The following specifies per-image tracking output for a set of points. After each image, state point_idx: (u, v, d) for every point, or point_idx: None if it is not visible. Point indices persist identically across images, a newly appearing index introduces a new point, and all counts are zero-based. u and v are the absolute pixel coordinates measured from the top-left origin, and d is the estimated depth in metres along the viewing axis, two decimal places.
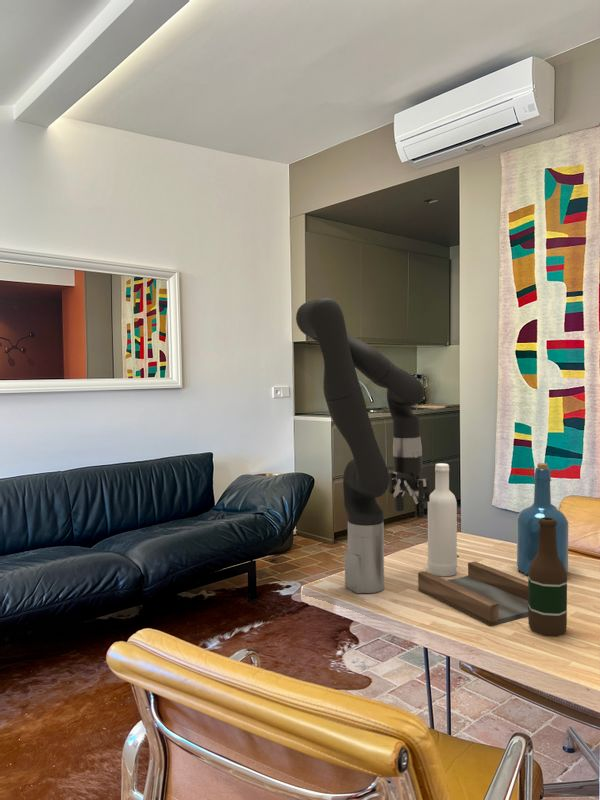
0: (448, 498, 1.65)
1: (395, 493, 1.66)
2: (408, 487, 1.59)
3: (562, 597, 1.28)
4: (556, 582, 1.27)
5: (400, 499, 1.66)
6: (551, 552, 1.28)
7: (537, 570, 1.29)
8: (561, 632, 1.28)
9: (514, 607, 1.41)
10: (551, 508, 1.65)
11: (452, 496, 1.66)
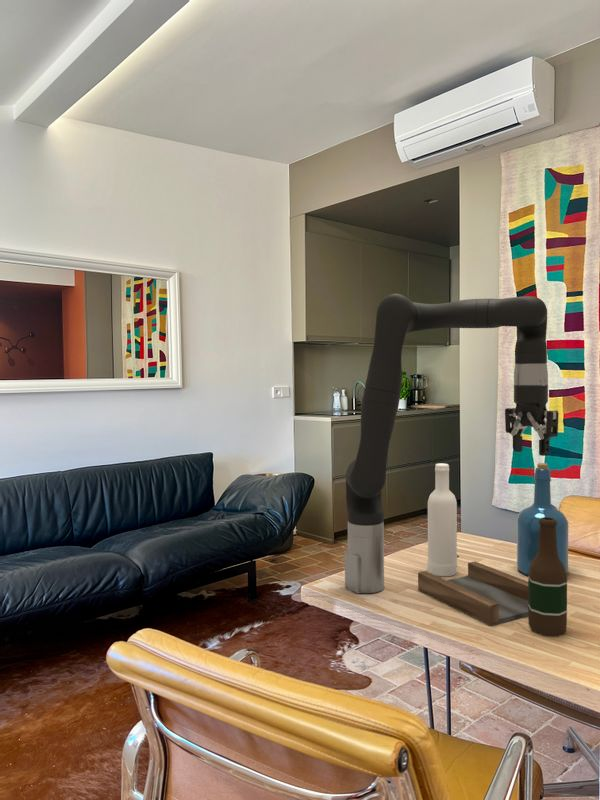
0: (448, 498, 1.65)
1: (514, 431, 1.46)
2: (532, 420, 1.41)
3: (562, 597, 1.28)
4: (556, 582, 1.27)
5: (519, 438, 1.47)
6: (551, 552, 1.28)
7: (537, 570, 1.29)
8: (561, 632, 1.28)
9: (514, 607, 1.41)
10: (551, 508, 1.65)
11: (452, 496, 1.66)
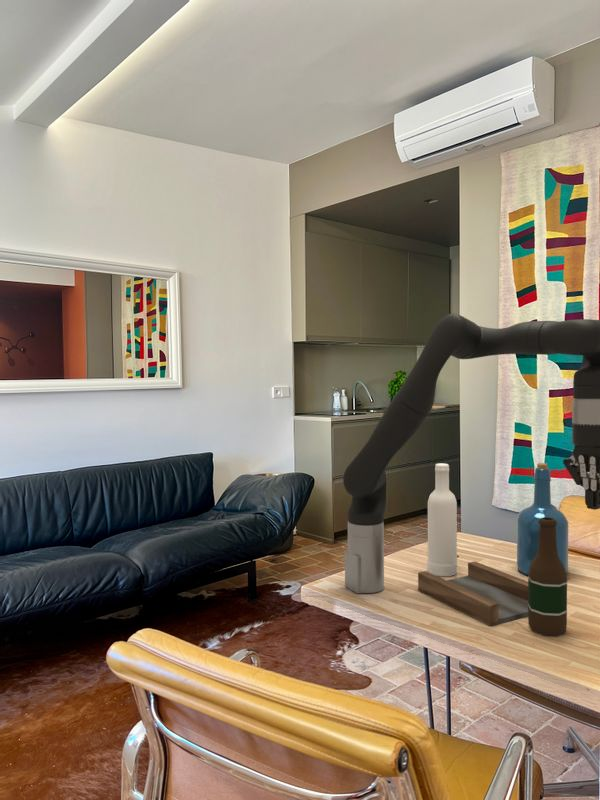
0: (448, 498, 1.65)
1: (587, 484, 1.21)
2: (593, 467, 1.19)
3: (562, 597, 1.28)
4: (556, 582, 1.27)
5: None
6: (551, 552, 1.28)
7: (537, 570, 1.29)
8: (561, 632, 1.28)
9: (514, 607, 1.41)
10: (551, 508, 1.65)
11: (452, 496, 1.66)
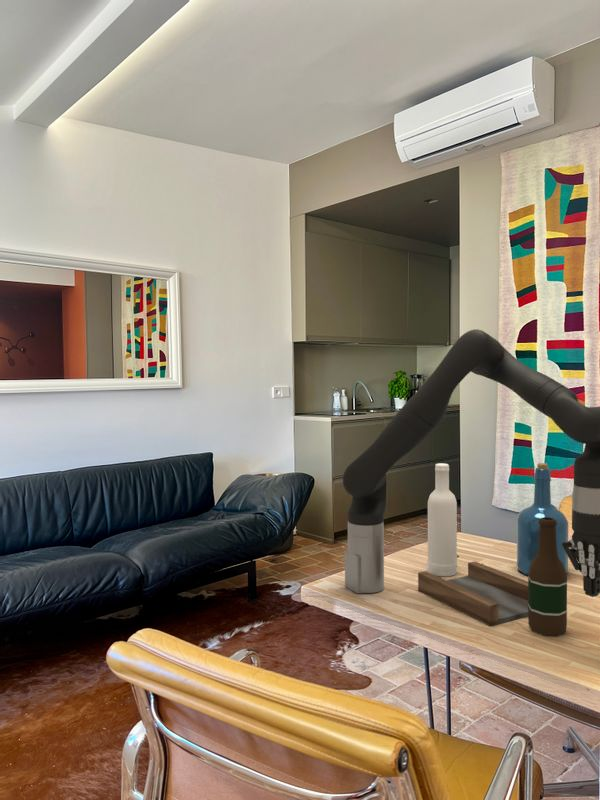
0: (448, 498, 1.65)
1: (586, 570, 1.20)
2: (592, 555, 1.19)
3: (562, 597, 1.28)
4: (556, 582, 1.27)
5: None
6: (551, 552, 1.28)
7: (537, 570, 1.29)
8: (561, 632, 1.28)
9: (514, 607, 1.41)
10: (551, 508, 1.65)
11: (452, 496, 1.66)
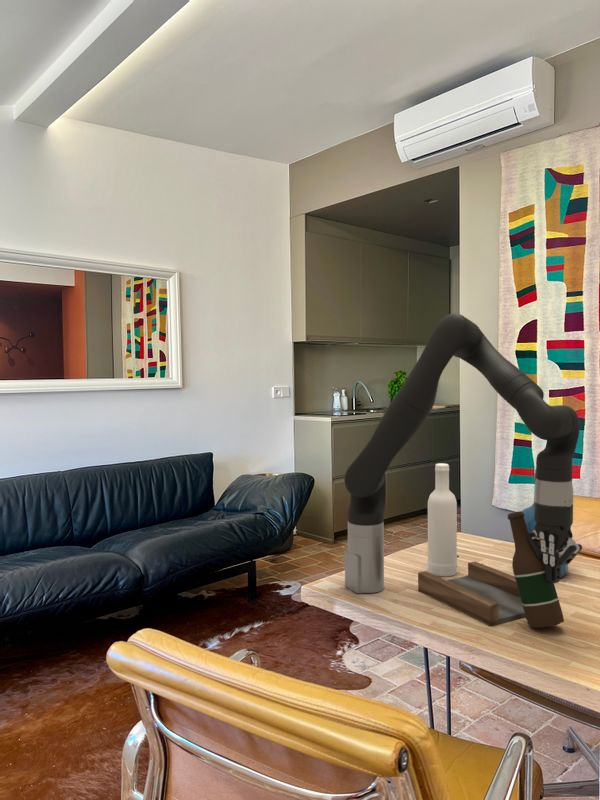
0: (448, 498, 1.65)
1: (547, 559, 1.29)
2: (552, 544, 1.27)
3: (549, 584, 1.30)
4: (538, 569, 1.30)
5: None
6: (526, 542, 1.33)
7: (518, 563, 1.32)
8: (558, 620, 1.28)
9: (514, 607, 1.41)
10: None
11: (452, 496, 1.66)
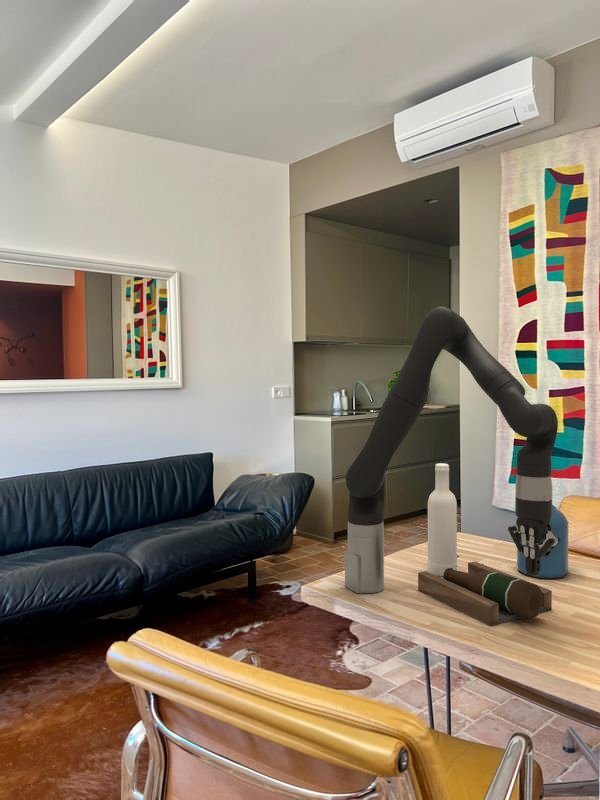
0: (448, 498, 1.65)
1: (527, 552, 1.33)
2: (532, 537, 1.32)
3: (502, 576, 1.40)
4: (485, 575, 1.42)
5: None
6: (466, 575, 1.47)
7: (474, 589, 1.43)
8: (531, 585, 1.34)
9: None
10: None
11: (452, 496, 1.66)
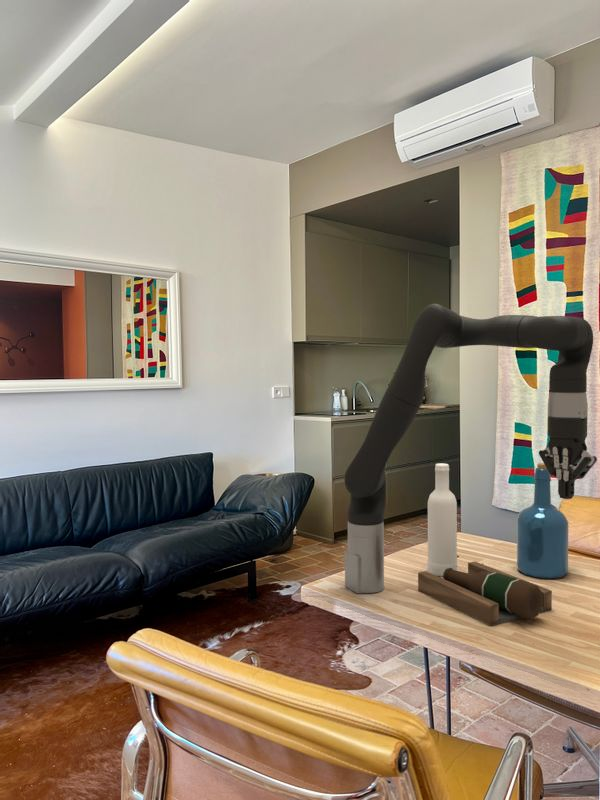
0: (448, 498, 1.65)
1: (560, 474, 1.26)
2: (565, 458, 1.24)
3: (502, 576, 1.40)
4: (484, 576, 1.42)
5: None
6: (466, 576, 1.47)
7: (474, 589, 1.43)
8: (531, 586, 1.34)
9: None
10: (551, 508, 1.65)
11: (452, 496, 1.66)
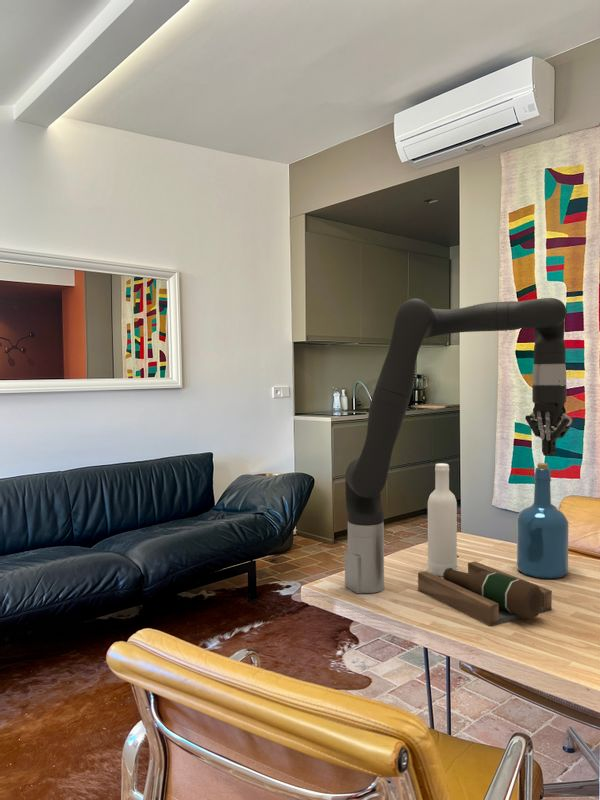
0: (448, 498, 1.65)
1: (543, 435, 1.46)
2: (548, 420, 1.44)
3: (502, 576, 1.40)
4: (484, 576, 1.42)
5: None
6: (466, 576, 1.47)
7: (474, 589, 1.43)
8: (531, 586, 1.34)
9: None
10: (551, 508, 1.65)
11: (452, 496, 1.66)
